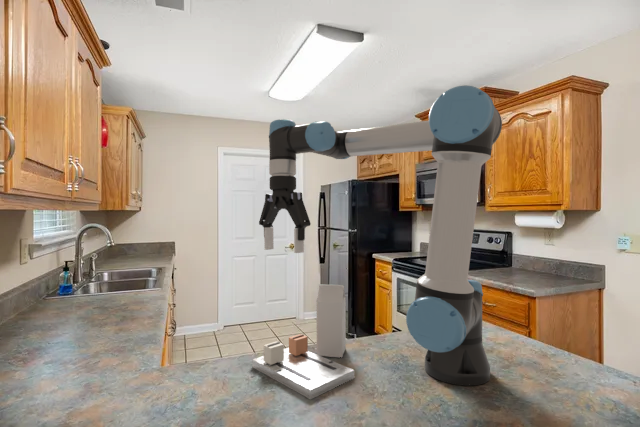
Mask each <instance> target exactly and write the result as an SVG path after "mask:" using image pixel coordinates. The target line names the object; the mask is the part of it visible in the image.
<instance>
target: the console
mask: <svg viewBox="0 0 640 427" xmlns="http://www.w3.org/2000/svg"><path fill="white" fill-rule="evenodd" d="M251 360H252V368H253V369H255V370H257V371H258V372H260V373H262V374H263V375H265V376H267V377H269V378H271V379H273V380H274V381H276V382H278V383H279V384H282V385H283V386H286V387H287V388H288V389H290V390H292V391H294V392H296V393H298V394H300V395H302V396H303V397H305V398H307V399H309V400H313V399H314V398H316V397H319V396H320V395H322V394H325V393H327V392H330V391H331V390H333V389H335V387H336V388H337V386H338V387H340V386H342V385H344V384H346V383H348V382H350V381H352V380H354V379H355V370H354V369H353V368H350V367H348V366H345V365H343V364H341V363H338V362H336V361H333V360H331V359H329V358H327V357H325V356H319V355H317V353H314V352H312V351H309V350H308V352H306V353H303V354H300V355H297V356H295V355H293V354H291V353H289V347H287V348H284V360H283V361H280V362H277V363H275V364H272V365H270V364H268V363H266V362H264V355H262V356H259V357H256V358H253V359H251ZM353 378H354V379H353ZM351 379H352V380H351ZM349 380H350V381H349ZM347 381H348V382H347ZM345 382H346V383H345ZM343 383H344V384H343ZM341 384H342V385H341ZM339 385H340V386H339Z"/></svg>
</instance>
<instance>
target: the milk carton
mask: <svg viewBox="0 0 640 427" xmlns="http://www.w3.org/2000/svg"><path fill="white" fill-rule="evenodd" d="M346 298H347V297H346V292H345V285H342V284H321V283H320V284H318V292H317V297H316V354H317V355H319V356H321V357H327V358H328V357H329V358H330V357H331V358H340V357H341V359H342V358H343V357H344V353H345V351H346V348H347V346H346V345H347V344H346V343H347V342H346V341H347V340H346V335H347V333H346V331H347V330H346V327H347V324H346V323H347V322H346V318H347V317H346V313H347V312H346V311H347V310H346V307H347V306H346V304H347V303H346V302H347V301H346Z"/></svg>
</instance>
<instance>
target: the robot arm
mask: <svg viewBox="0 0 640 427" xmlns="http://www.w3.org/2000/svg"><path fill="white" fill-rule="evenodd" d="M502 130H503V120H502V116H501V114H500V112H499V110H498V109H497V108H496V107H495V105H494V101H493V100H492V98H491V97H490V96H489V94H488V93H486V92H485V91H483V90H482V89H480V88H478V87H476V86H473V85H458V86H455V87H451V88H449V89H448V90H445V91H444V92H443V93H441V95H440V96H439V97H437V98H436V100H435V101H434V102H433V104H432V106H431V107H430V110H429V114H428V120H421V121H413V122H406V123H397V124H389V125H381V126H380V125H379V126H374V127H373V126H372V127H365V128H359V129H358V128H357V129H350V130H342V131H336V130H335V129H334V127H333V126H332V124H331V123H330V122H328V121H326V120H325V121H314V122H310V123H304V124H300V125H297V124H296V122H295V121H293V120H292V119H284V118H283V119H275V120H272V121H271V122H270V124H269V132H268V133H269V134H268V141H269V143H268V144H269V145H268V146H269V164H268V165H269V168H268V170H269V175H270V177H269V190H271V191H272V193H265V195H264V196H265V197H264V203H263V208H262V210H261V213H260V219H259V222H258V224H259V225H260V226H262V228H263V237H264V238H263V239H264V250H265V251H266V250H274V225H273V223H274V221H275V220H276V218H277V216H278V214H279V213H280V211H281V210H286V211H287V213H288V215H289V217H290V218H291V220H292V222H293V223H294V225H295V227H294V228H293V237H294V240H293V245H294V246H293V247H294V249H293V251H294V252H293V253H294V254H302V253H304V252H305V251H304V250H305V248H304V247H305V242H304V241H305V239H306V238H305V236H306V235H305V234H306V228H307V227H310V226H311V224H312V223H311V220H310V217H309V215H308V212H307V208H306V206H305V203H304V200H303V193H302V192H301V191H295V190H296V189H297V178H296V176H295V175H296V174H297V155H298V154H306V153H313V154H316V155H317V154H318V155H322V156H327V157H330V158H333V159H336V160H346V159H348V158H350V157H360V156H375V155H388V154H399V153H413V152H414V153H415V152H427V151H428V152H429V151H430V152H431V156H432V157H433V158H434V160H435V161H436V162H437V167H436V178H435V186H434V195H433V203H432V211H431V220H430V229H429V235H428V236H429V237H428V244H427V246H428V248H427V253H426V263H425V271H424V272H425V273H424V274H422V275H421V276H420V277H419V278H418V277H417V279H416V288H415V296H414V301H412V302H411V303H410V305H409V307H408V309H407V311H406V316H405V317H406V318H405V320H406V321H405V322H406V326H407V329H408V333H409V334H410V336H411V337H412V338H413V339H414V341H415V342H416V343H417V344H418V345H419V346H421V347H422V348H424V349H426V350H427V351H426V354H425V357H424V370H425V372H426V373H427V374H428V375H429V376H430V377H432V378H434V379H436V380H439V381H441V382H444V383H447V384H451V385H458V386H466V387H467V386H468V387H470V386H479V385H483V384H486V383H487V382H489V381H490V379H491V366H490V363H489V360H488V357H487V354H486V351H485V347H484V346H483V345H484V344H483V296H484V292H483V286H482V283H481V281H478V280H475V279H474V280H473V279H468V278H469V270H470V262H471V255H472V254H471V252H472V244H473V237H474V229H475V220H476V213H477V207H478V197H479V196H478V195H479V187H480V181H481V174H482V166H483V165H484V164H485V163H486V162H488V161H489V160H490V159H491V157H492V151H493V145H494V144H495V143H496V142H497V141H498V139H499V137H500V135H501V133H502Z"/></svg>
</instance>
